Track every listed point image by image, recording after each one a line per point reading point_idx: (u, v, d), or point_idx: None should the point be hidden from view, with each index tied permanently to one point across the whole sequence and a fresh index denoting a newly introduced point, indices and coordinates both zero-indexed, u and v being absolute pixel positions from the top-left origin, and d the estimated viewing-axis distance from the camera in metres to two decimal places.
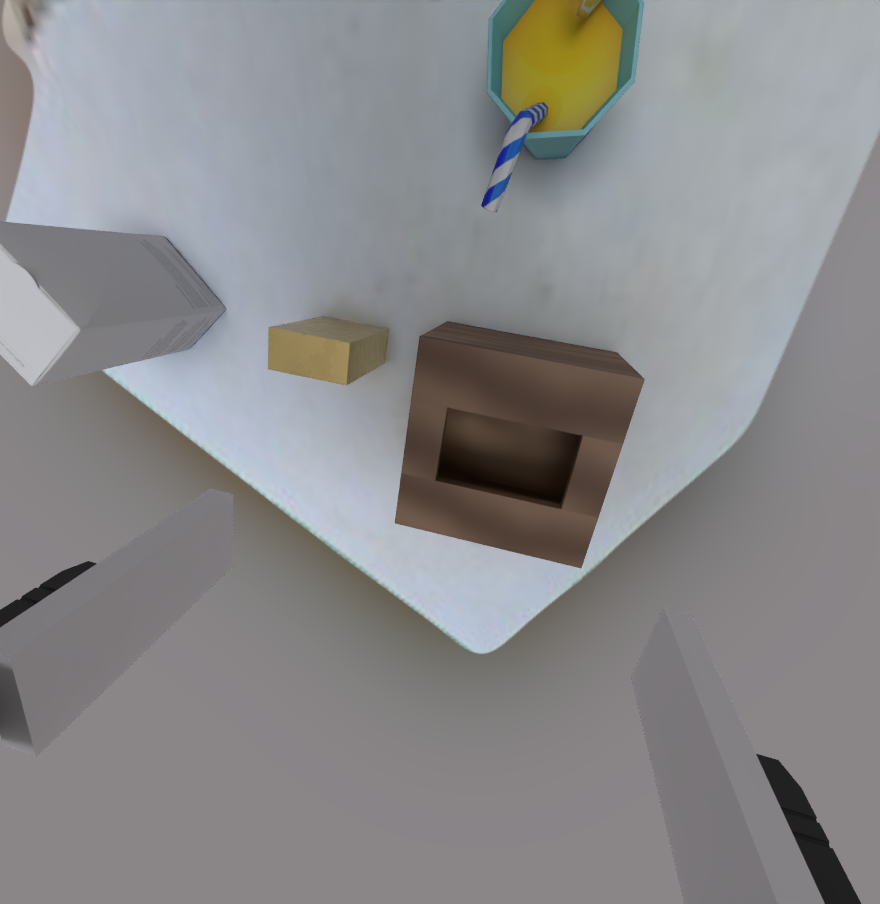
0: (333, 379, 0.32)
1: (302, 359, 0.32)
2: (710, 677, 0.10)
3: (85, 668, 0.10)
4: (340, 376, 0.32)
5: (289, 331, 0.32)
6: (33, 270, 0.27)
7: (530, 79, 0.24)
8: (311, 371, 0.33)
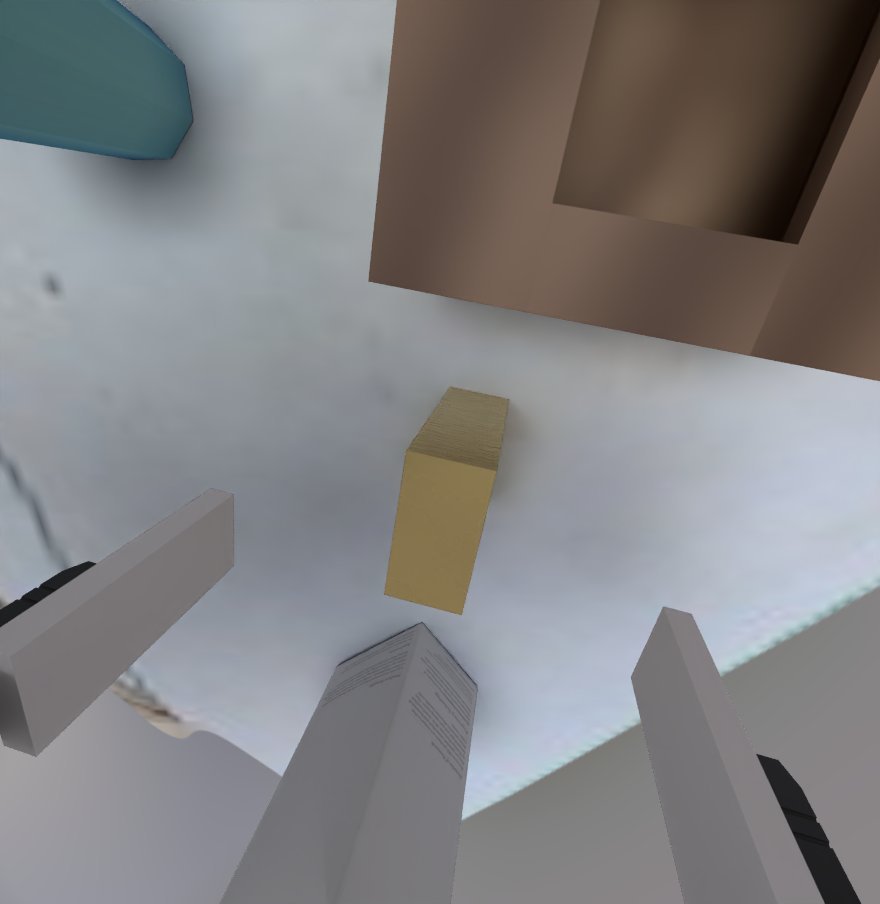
0: (483, 496, 0.15)
1: (440, 549, 0.16)
2: (710, 677, 0.10)
3: (85, 668, 0.10)
4: (476, 481, 0.15)
5: (390, 560, 0.17)
6: None
7: None
8: (466, 537, 0.16)
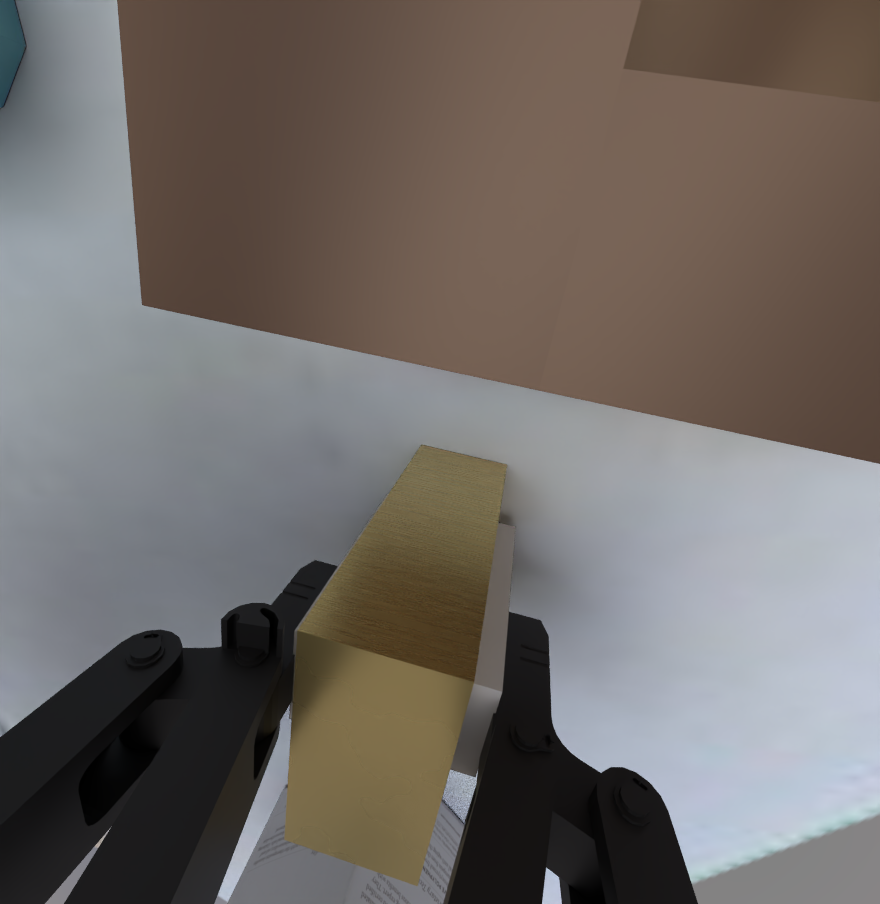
0: (449, 720, 0.08)
1: (375, 791, 0.09)
2: (503, 564, 0.13)
3: None
4: (435, 694, 0.07)
5: (290, 793, 0.09)
6: None
7: None
8: (420, 779, 0.08)
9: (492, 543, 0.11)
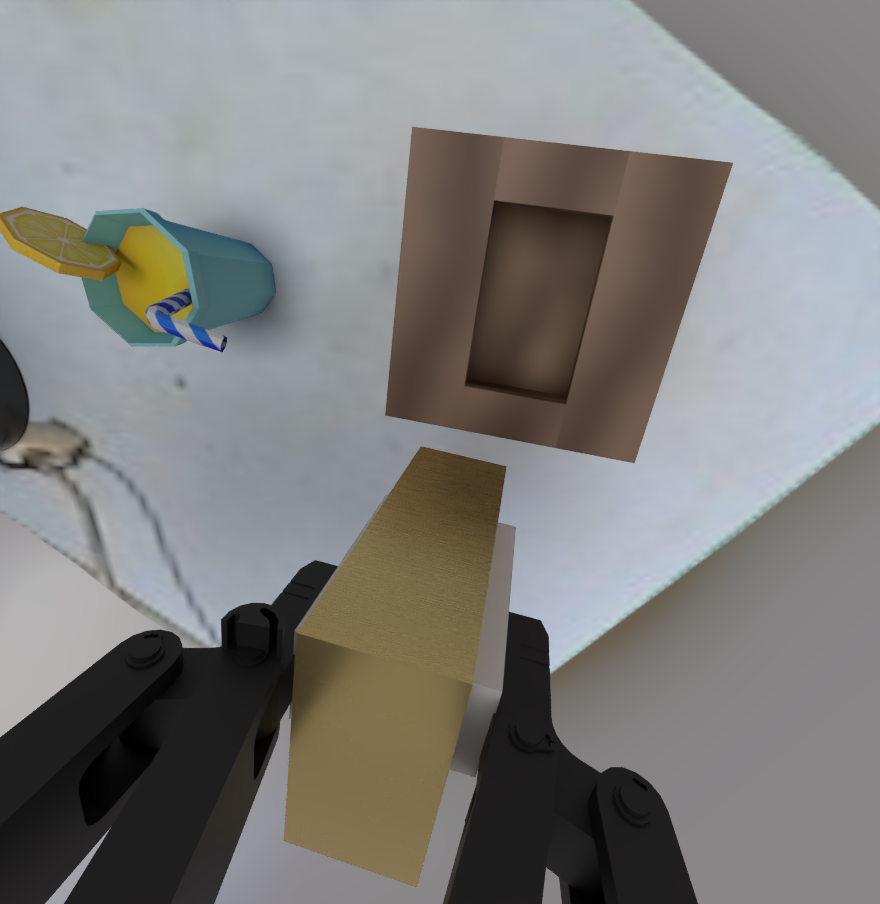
0: (447, 722, 0.08)
1: (374, 791, 0.09)
2: (503, 564, 0.13)
3: None
4: (434, 696, 0.08)
5: (289, 794, 0.09)
6: None
7: None
8: (419, 780, 0.08)
9: (491, 545, 0.11)
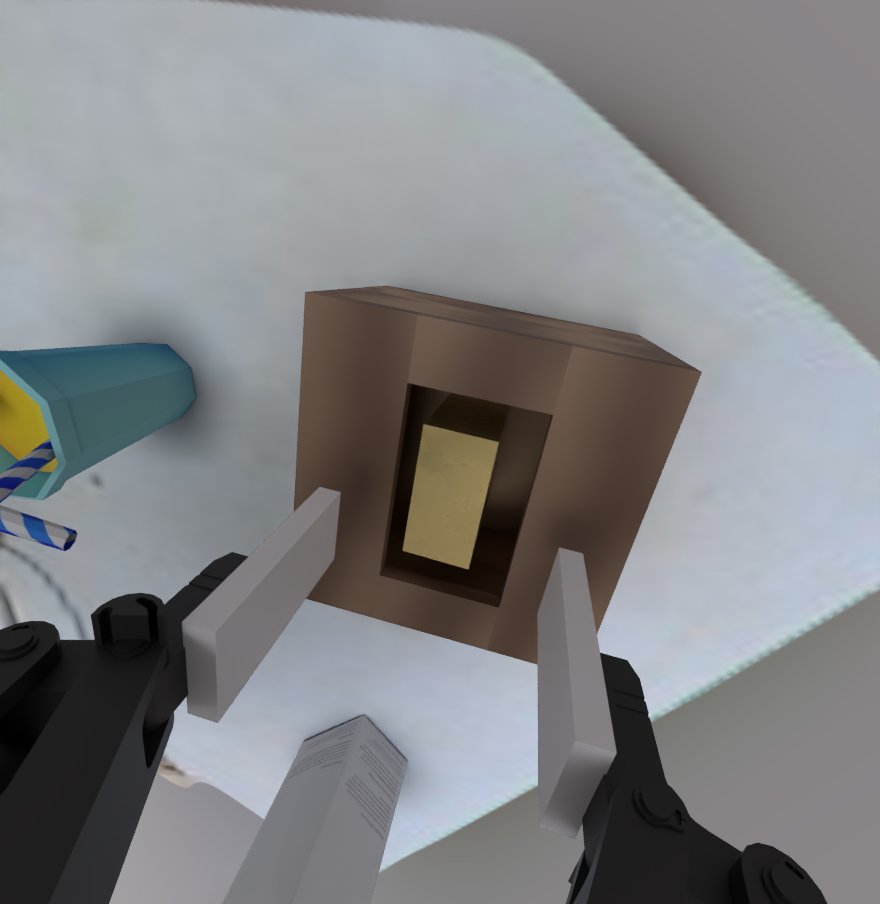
0: (487, 464, 0.18)
1: (451, 510, 0.19)
2: (581, 597, 0.12)
3: (249, 646, 0.11)
4: (482, 450, 0.18)
5: (408, 520, 0.20)
6: None
7: None
8: (473, 499, 0.18)
9: (506, 413, 0.21)
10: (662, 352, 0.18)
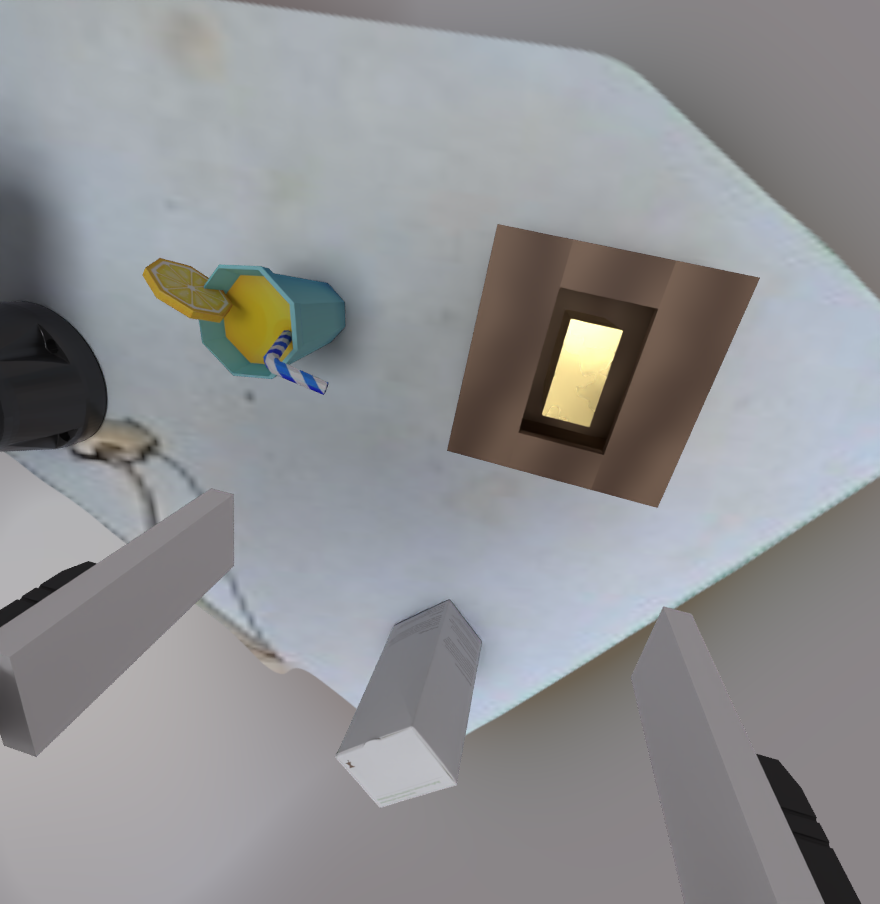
0: (613, 346, 0.27)
1: (582, 382, 0.28)
2: (710, 677, 0.10)
3: (85, 668, 0.10)
4: (610, 337, 0.26)
5: (549, 391, 0.28)
6: (371, 736, 0.36)
7: (270, 343, 0.32)
8: (599, 373, 0.27)
9: (612, 323, 0.30)
10: None
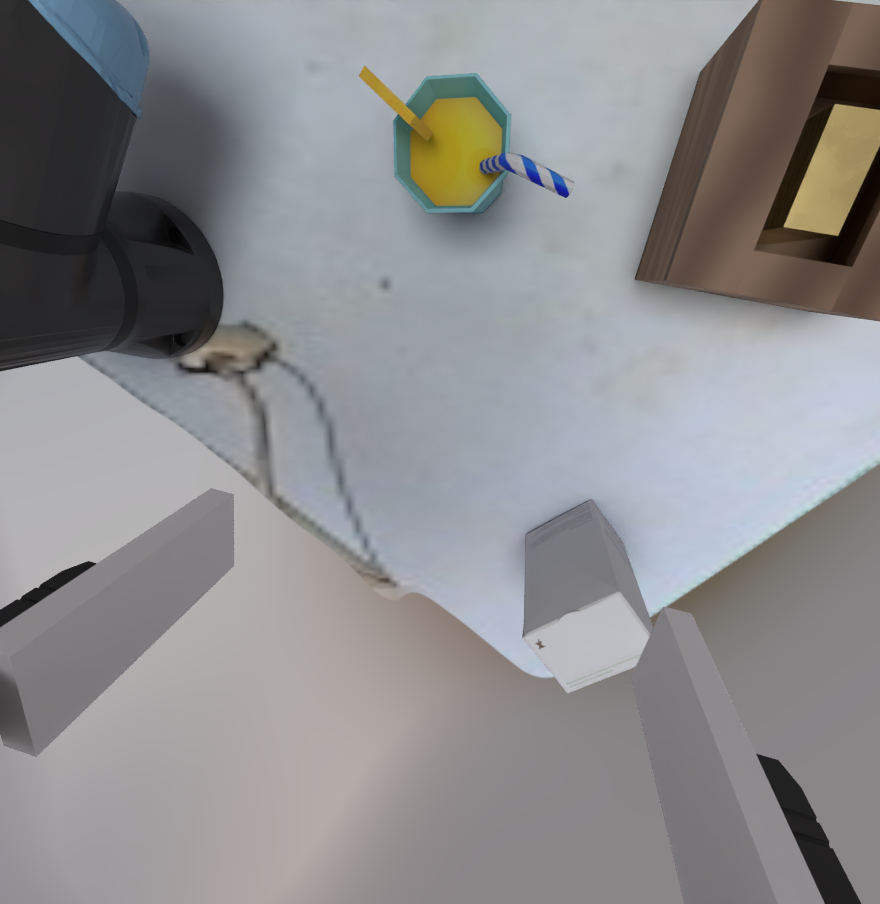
0: None
1: (837, 181, 0.26)
2: (710, 677, 0.10)
3: (85, 668, 0.10)
4: (879, 121, 0.24)
5: (795, 197, 0.26)
6: (564, 610, 0.33)
7: (462, 179, 0.30)
8: (859, 168, 0.25)
9: None
10: None
